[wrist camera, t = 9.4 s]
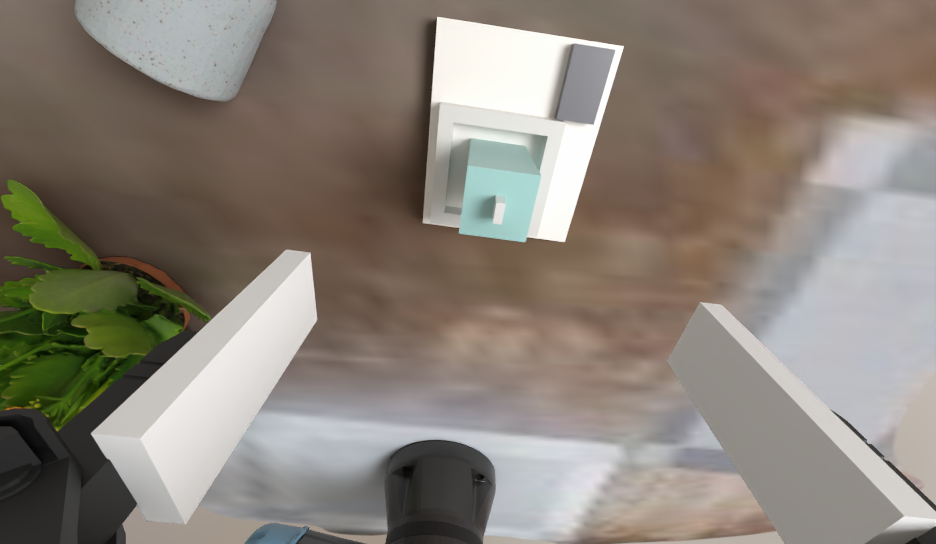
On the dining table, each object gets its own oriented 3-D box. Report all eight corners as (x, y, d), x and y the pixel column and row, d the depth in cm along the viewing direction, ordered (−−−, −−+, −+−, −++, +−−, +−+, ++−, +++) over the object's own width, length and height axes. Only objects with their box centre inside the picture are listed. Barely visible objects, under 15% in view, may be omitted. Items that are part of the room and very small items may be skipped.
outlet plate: (561, 235, 31) (568, 250, 28) (424, 217, 30) (419, 230, 28) (617, 46, 24) (632, 45, 21) (439, 18, 23) (434, 13, 21)
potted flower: (-50, 138, 28) (-660, 225, 13) (255, 197, 30) (25, 334, 15) (68, 362, 41) (-173, 537, 26) (278, 394, 42) (166, 576, 27)
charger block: (514, 198, 28) (527, 251, 20) (464, 191, 28) (457, 242, 20) (525, 145, 26) (544, 182, 18) (471, 137, 26) (466, 171, 18)
